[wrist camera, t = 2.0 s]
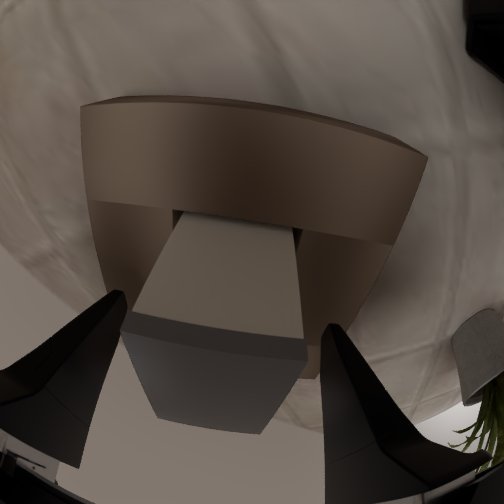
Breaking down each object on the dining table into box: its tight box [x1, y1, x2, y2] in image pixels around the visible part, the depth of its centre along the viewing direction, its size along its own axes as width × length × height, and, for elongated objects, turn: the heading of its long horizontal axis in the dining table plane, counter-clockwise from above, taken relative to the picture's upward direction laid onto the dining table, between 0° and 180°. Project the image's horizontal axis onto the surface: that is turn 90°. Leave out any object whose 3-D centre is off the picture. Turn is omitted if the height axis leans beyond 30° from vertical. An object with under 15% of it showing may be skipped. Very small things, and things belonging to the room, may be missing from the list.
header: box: [80, 96, 428, 379], centre depth 12 cm, size 12×14×3 cm
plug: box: [120, 211, 308, 434], centre depth 10 cm, size 4×6×7 cm
